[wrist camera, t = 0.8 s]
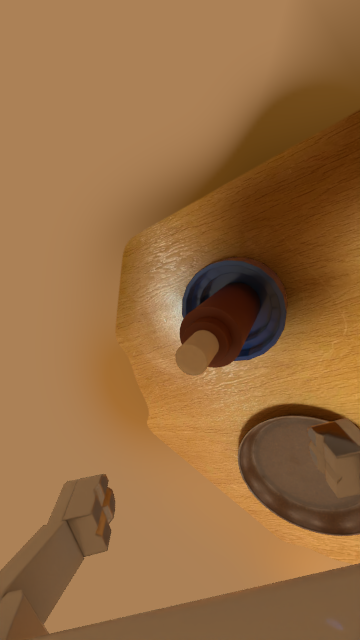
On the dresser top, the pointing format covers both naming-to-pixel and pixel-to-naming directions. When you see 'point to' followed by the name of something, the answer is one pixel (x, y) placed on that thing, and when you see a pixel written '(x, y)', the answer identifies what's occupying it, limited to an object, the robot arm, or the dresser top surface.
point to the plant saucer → (294, 477)
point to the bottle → (217, 329)
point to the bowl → (264, 285)
